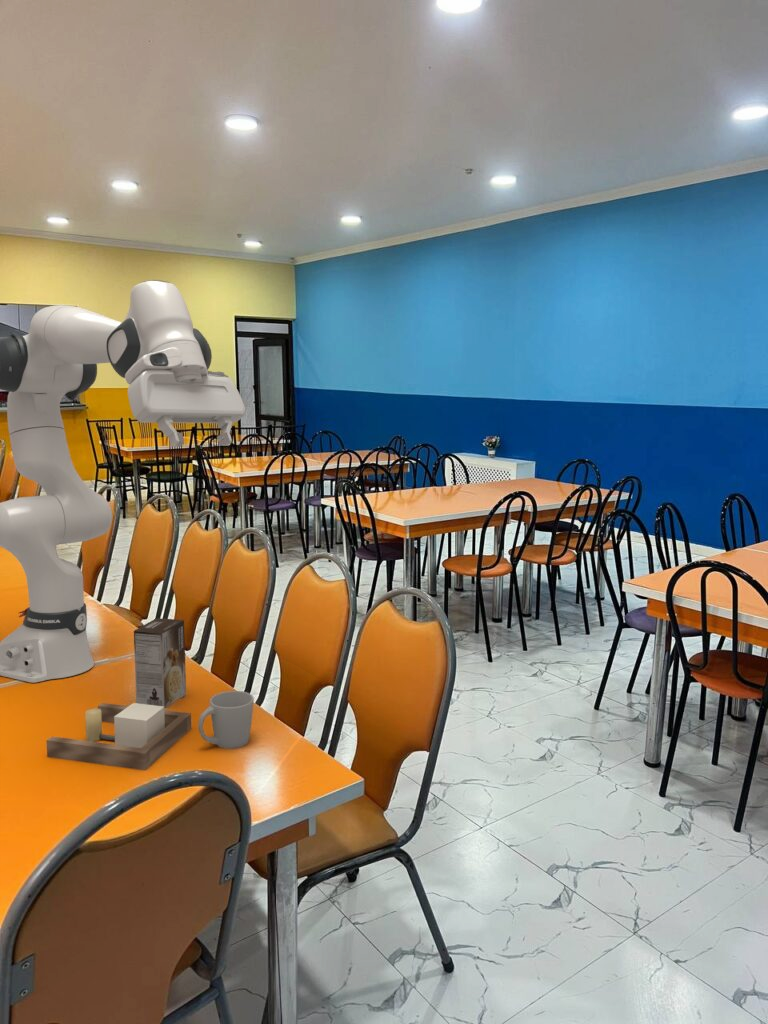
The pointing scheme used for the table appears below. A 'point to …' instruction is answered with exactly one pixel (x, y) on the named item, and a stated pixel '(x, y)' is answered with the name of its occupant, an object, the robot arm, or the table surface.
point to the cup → (229, 719)
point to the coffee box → (160, 662)
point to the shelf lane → (118, 754)
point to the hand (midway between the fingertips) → (202, 444)
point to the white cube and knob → (128, 725)
